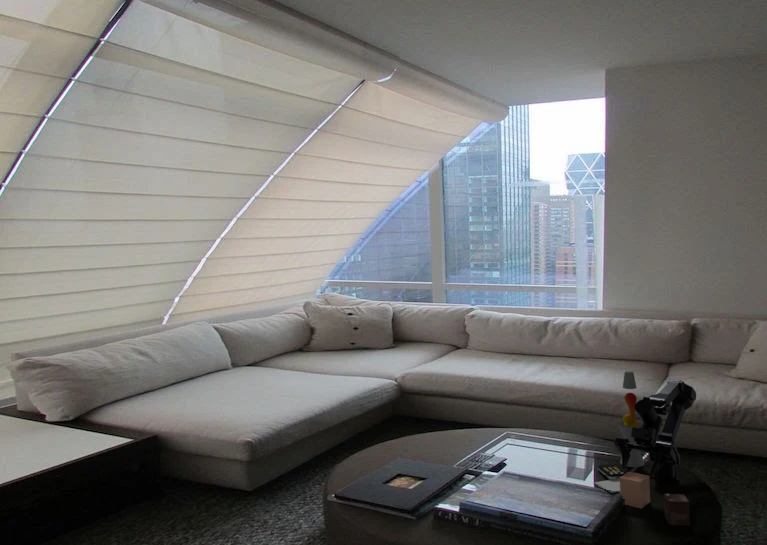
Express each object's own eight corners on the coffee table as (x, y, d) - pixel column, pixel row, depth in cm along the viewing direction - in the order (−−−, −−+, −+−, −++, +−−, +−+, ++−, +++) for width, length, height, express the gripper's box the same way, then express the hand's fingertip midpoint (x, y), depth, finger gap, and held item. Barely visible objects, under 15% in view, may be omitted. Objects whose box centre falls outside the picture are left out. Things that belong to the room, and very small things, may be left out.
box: (690, 526, 193) (689, 501, 193) (668, 525, 195) (667, 501, 194) (685, 517, 199) (684, 493, 199) (664, 516, 201) (663, 493, 200)
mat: (619, 479, 232) (619, 478, 232) (637, 489, 222) (637, 488, 222) (594, 483, 229) (594, 482, 229) (611, 494, 220) (611, 492, 220)
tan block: (629, 497, 217) (628, 471, 216) (650, 501, 212) (649, 476, 211) (620, 503, 212) (619, 477, 211) (641, 508, 207) (640, 482, 207)
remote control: (613, 468, 243) (613, 463, 243) (627, 479, 230) (626, 473, 230) (596, 469, 243) (596, 464, 243) (609, 480, 230) (609, 474, 230)
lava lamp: (629, 457, 254) (626, 367, 252) (650, 463, 246) (647, 371, 245) (614, 462, 249) (611, 371, 248) (634, 469, 242) (631, 374, 240)
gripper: (615, 413, 223) (601, 453, 215) (671, 421, 210) (658, 465, 202) (625, 430, 229) (612, 470, 221) (681, 439, 216) (669, 482, 208)
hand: (637, 471), depth 213 cm, fingers open, 9 cm apart
